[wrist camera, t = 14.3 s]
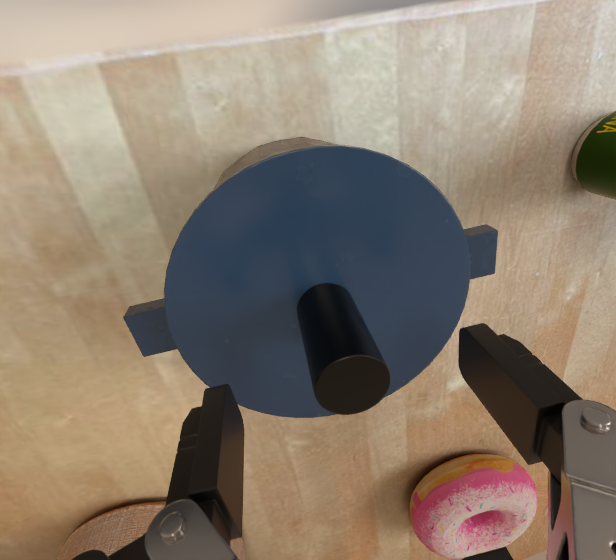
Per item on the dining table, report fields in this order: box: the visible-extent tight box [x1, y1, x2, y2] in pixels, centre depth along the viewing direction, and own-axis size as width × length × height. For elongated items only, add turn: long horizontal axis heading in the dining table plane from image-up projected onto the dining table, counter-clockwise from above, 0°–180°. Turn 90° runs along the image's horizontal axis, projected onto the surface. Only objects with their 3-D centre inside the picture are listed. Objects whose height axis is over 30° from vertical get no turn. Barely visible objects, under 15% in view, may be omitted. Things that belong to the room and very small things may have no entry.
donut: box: [409, 454, 538, 559], centre depth 38 cm, size 14×13×5 cm
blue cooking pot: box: [123, 137, 498, 357], centre depth 20 cm, size 13×18×8 cm
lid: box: [164, 145, 470, 418], centre depth 14 cm, size 14×14×6 cm
